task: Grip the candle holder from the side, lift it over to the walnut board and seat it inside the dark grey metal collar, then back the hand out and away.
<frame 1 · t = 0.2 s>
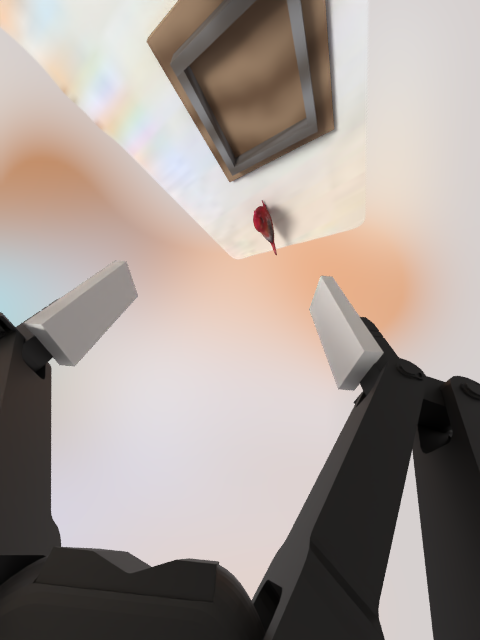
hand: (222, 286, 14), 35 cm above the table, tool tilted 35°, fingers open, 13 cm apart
cradle: (252, 86, 28), on the table
decorative bird figurine: (268, 213, 49), on the table
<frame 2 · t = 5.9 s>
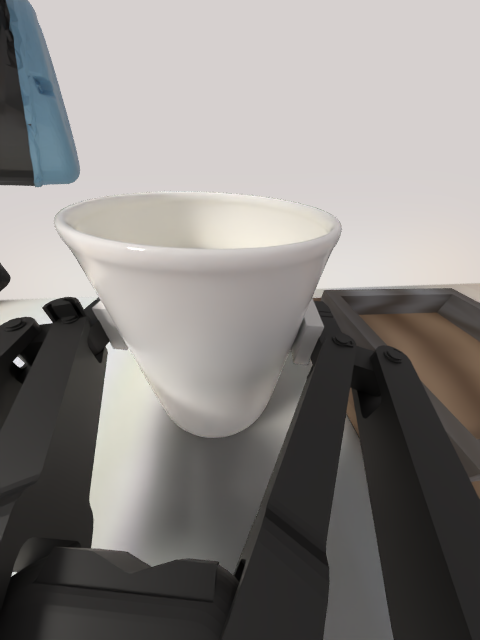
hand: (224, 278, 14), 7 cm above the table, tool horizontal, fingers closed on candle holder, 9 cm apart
cradle: (430, 366, 17), on the table
candle holder: (217, 382, 15), on the table, touching gripper
when the fingers open (9 cm above the table, at t = 12.0 s): candle holder drops 1 cm, resting on cradle.
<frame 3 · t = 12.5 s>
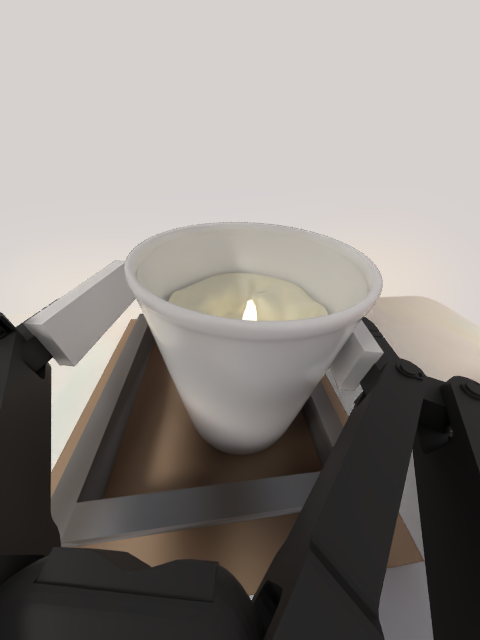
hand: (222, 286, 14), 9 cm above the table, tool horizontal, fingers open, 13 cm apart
cradle: (218, 397, 17), on the table
candle holder: (240, 398, 16), point 1 cm above the table, touching cradle, gripper
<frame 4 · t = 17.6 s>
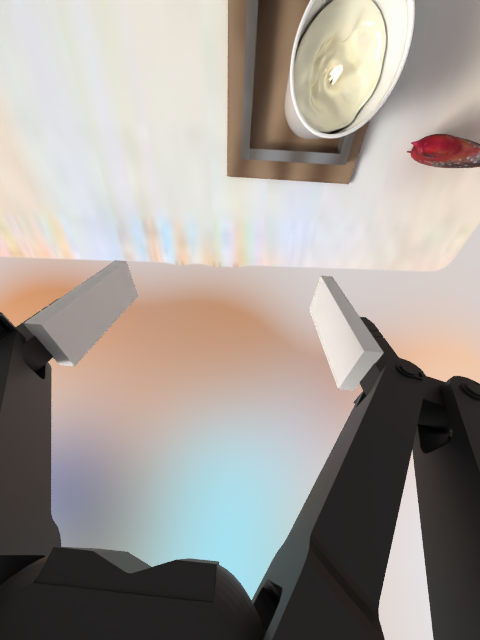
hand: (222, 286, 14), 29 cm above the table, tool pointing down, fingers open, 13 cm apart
cradle: (301, 89, 26), on the table
decorative bird figurine: (434, 156, 30), on the table
candle holder: (314, 98, 26), point 1 cm above the table, touching cradle
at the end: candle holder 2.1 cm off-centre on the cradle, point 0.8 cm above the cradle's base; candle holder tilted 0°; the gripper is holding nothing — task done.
